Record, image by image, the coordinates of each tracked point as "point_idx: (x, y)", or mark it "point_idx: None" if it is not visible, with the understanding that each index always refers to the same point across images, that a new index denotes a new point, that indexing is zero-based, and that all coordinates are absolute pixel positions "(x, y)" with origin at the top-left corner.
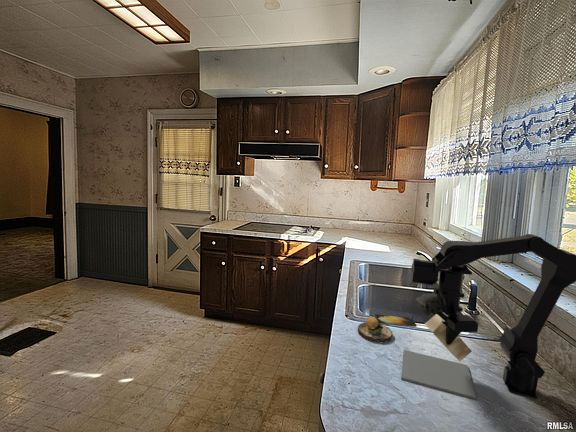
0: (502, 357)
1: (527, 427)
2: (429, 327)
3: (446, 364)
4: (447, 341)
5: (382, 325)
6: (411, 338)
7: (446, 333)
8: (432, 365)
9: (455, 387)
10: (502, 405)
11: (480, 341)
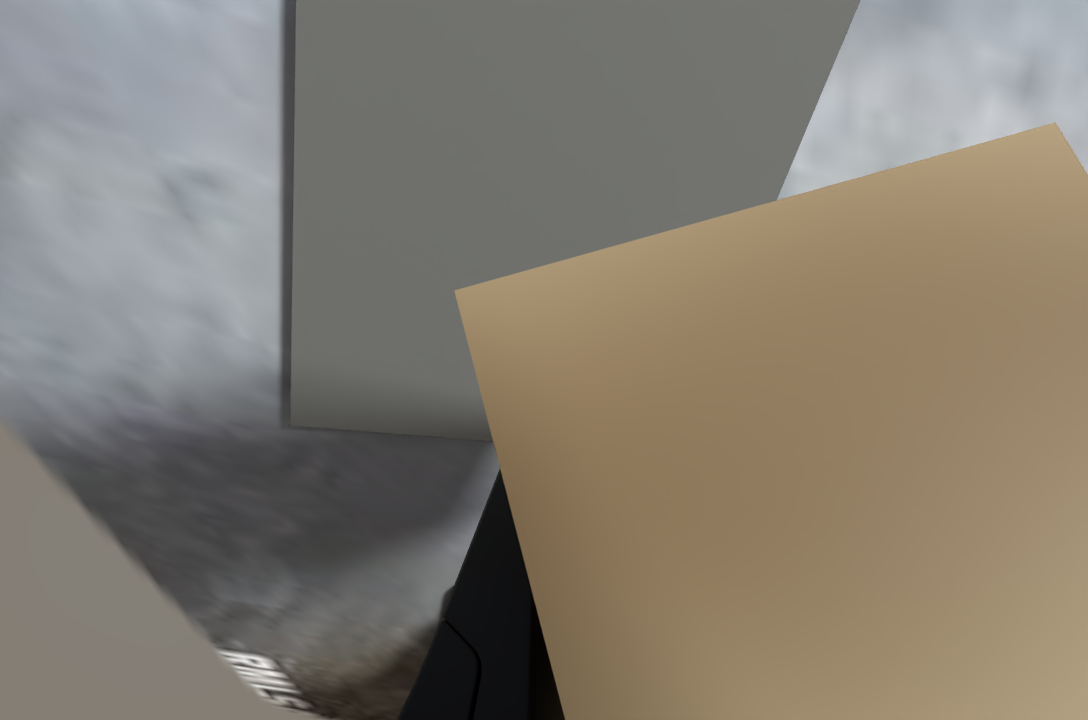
0: None
1: (159, 588)
2: (757, 241)
3: None
4: (493, 490)
5: None
6: (1064, 116)
7: (514, 603)
8: (627, 207)
9: (356, 319)
10: (308, 531)
11: None
